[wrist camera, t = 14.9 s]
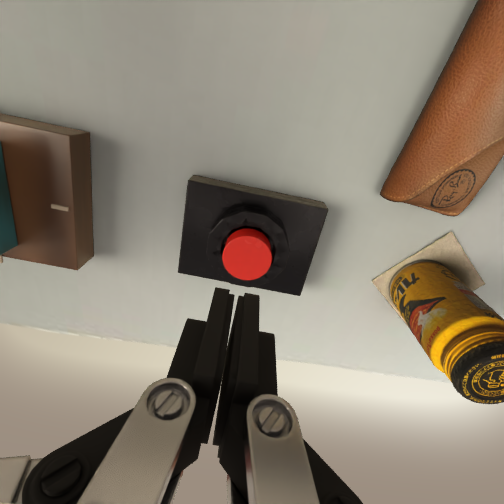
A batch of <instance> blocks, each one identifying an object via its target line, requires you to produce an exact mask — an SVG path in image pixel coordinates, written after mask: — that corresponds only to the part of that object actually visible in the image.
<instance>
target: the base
mask: <svg viewBox="0 0 504 504" xmlns="http://www.w3.org/2000/svg"><path fill="white" fill-rule="evenodd" d="M0 141H1V146H2V152H3V158H4V164H5V171H6V177H7V183H8V189H9V195H10V201H11V207H12V213H13V219H14V225H15V231H16V237H17V243H18V246H16V247H14V248H12V249H11V250H9V251H7V252H5V253H4V254H2V255H0V263H3V258H2V256H5V257H10V258H15V259H20V260H26V261H31V262H36V263H42V264H47V265H52V266H58V267H63V268H68V269H74V270H78V269H80V268H81V267H82V266H83V265H84V264H85V263H86V262H87V261H89V260H90V259H91V258H92V257H93V256H94V252H93V220H92V189H91V158H90V133H89V132H85V131H81V130H76V129H71V128H67V127H62V126H57V125H53V124H48V123H43V122H39V121H34V120H29V119H25V118H20V117H15V116H11V115H6V114H1V113H0Z"/></svg>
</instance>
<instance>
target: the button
mask: <svg viewBox="0 0 504 504" xmlns="http://www.w3.org/2000/svg"><path fill="white" fill-rule="evenodd" d="M222 260H223V264H224V266H225V268H226V270H227V271H228V272H229V273H230V274H231V275H233V276H234V277H236V278H238V279H242V280H254V279H257V278H259V277H261V276H263V275H264V274H265V273H266V272H267V271H268V270H269V268H270V266H271V262H272V250H271V244H270V241H269V240H268V238H267V237H266V236H265V235H264V234H263V233H262V232H260V231H258V230H255V229H250V228H245V229H240V230H237V231H235V232H234V233H232V234H231V235H230V236H229V237H228V239H227V241H226V243H225V247H224V251H223V255H222Z"/></svg>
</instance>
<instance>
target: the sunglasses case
mask: <svg viewBox="0 0 504 504" xmlns="http://www.w3.org/2000/svg"><path fill="white" fill-rule="evenodd" d="M503 155H504V0H478V1H477V4H476V6H475V7H474V9H473V11H472V13H471V15H470V17H469V19H468V21H467V23H466V25H465V27H464V29H463V31H462V33H461V35H460V37H459V39H458V41H457V43H456V45H455V48H454V49H453V51H452V53H451V55H450V57H449V59H448V61H447V63H446V65H445V67H444V69H443V71H442V73H441V75H440V77H439V78H438V80H437V83H436V85H435V87H434V89H433V91H432V93H431V95H430V97H429V98H428V100H427V102H426V104H425V106H424V108H423V110H422V112H421V114H420V116H419V118H418V120H417V122H416V124H415V126H414V128H413V130H412V132H411V133H410V135H409V137H408V139H407V141H406V143H405V145H404V147H403V149H402V151H401V153H400V154H399V156H398V158H397V160H396V162H395V163H394V165H393V167H392V169H391V171H390V173H389V175H388V177H387V179H386V181H385V183H384V185H383V187H382V190H381V192H380V195H381V196H382V197H383V198H385V199H387V200H389V201H393V202H404V203H408V204H412V205H415V206H418V207H422V208H425V209H428V210H431V211H435V212H438V213H440V214H443V215H447V216H457V215H459V214H460V213H461V212H462V211H463V210H464V209H465V208H466V207H467V206H468V205H469V204H470V202H471V201H472V200H473V198H474V197H475V196H476V194H477V193H478V192H479V190H480V189H481V187H482V186H483V185H484V183H485V182H486V180H487V179H488V178H489V176H490V175H491V173H492V171H493V170H494V169H495V167H496V166H497V164H498V163H499V161H500V160H501V158H502V157H503Z"/></svg>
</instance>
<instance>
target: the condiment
mask: <svg viewBox="0 0 504 504" xmlns="http://www.w3.org/2000/svg"><path fill="white" fill-rule="evenodd" d="M372 282H373V284H374V285H375V286H376V287H377V289H378V290H379V291H380V292H381V293H382V295H383V296H384V297H385V298H386V300H387V301H388V302H389V303H390V305H391V306H392V307H393V308H394V310H395V311H396V312H397V313H398V315H399V316H400V317H401V318H402V320H403V321H404V322H405V323H406V325H407V326H408V327H409V328H410V330H411V331H412V333H413V334H414V336H415V337H416V338H417V340H418V342H419V343H420V345H421V346H422V348H423V349H424V351H425V352H426V354H427V355H428V357H429V358H430V360H431V361H432V363H433V365H434V366H435V367H436V368H437V369H439V370H440V371H442V372H443V373H445V374H446V376H447V377H448V378H449V380H450V381H451V382H452V383H453V386H454V387H455V389H456V390H457V392H459V393H460V394H461V395H462V396H463V397H465V398H466V399H469V400H471V401H473V402H476V403H483V404H498V403H501V402H504V319H503V318H502V317H501V316H499V315H498V314H497V313H496V312H495V311H494V310H493V309H492V308H491V307H489V306H488V305H487V304H486V303H485V302H484V301H483V300H482V299H481V298H479V297H478V296H477V295H476V294H475V293H474V292H473V290H476V289H477V288H479V287H481V286H482V285H484V284H485V283H484V281H483V280H482V279H481V277H480V276H479V274H478V272H477V271H476V269H475V268H474V266H473V265H472V263H471V262H470V260H469V258H468V257H467V255H466V254H465V252H464V251H463V249H462V247H461V246H460V244H459V243H458V241H457V239H456V238H455V236H454V234H453V233H452V232H450V233H448V234H447V235H445V236H444V237H442V238H440V239H438V240H437V241H435V242H434V243H433V244H431V245H429V246H428V247H426V248H424V249H423V250H421V251H419V252H418V253H416V254H414V255H413V256H411V257H409V258H407V259H405V260H404V261H402V262H401V263H399V264H398V265H396V266H394V267H393V268H391V269H389V270H388V271H386V272H385V273H383V274H381V275H380V276H378V277H377V278H375V279H374V280H373V281H372Z"/></svg>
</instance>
